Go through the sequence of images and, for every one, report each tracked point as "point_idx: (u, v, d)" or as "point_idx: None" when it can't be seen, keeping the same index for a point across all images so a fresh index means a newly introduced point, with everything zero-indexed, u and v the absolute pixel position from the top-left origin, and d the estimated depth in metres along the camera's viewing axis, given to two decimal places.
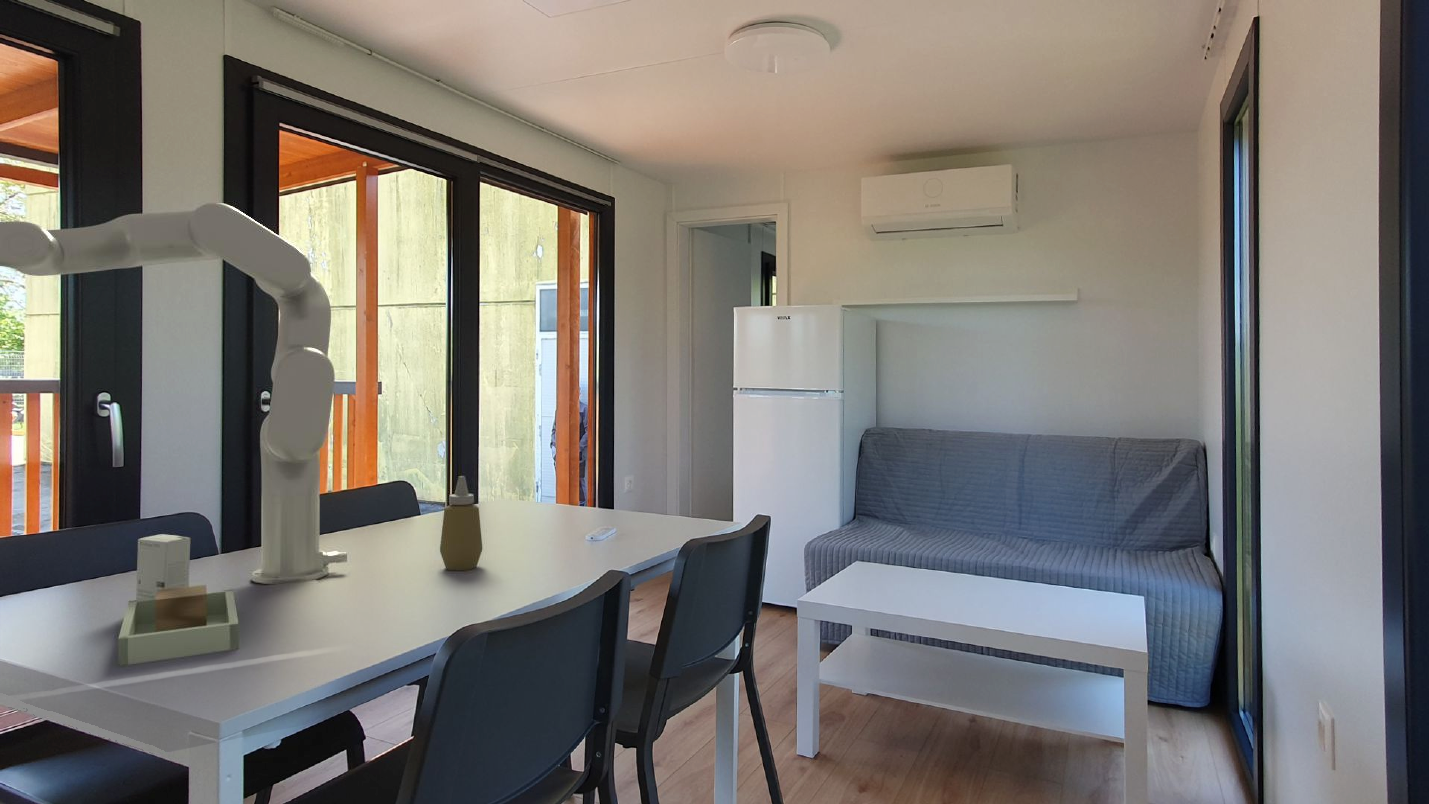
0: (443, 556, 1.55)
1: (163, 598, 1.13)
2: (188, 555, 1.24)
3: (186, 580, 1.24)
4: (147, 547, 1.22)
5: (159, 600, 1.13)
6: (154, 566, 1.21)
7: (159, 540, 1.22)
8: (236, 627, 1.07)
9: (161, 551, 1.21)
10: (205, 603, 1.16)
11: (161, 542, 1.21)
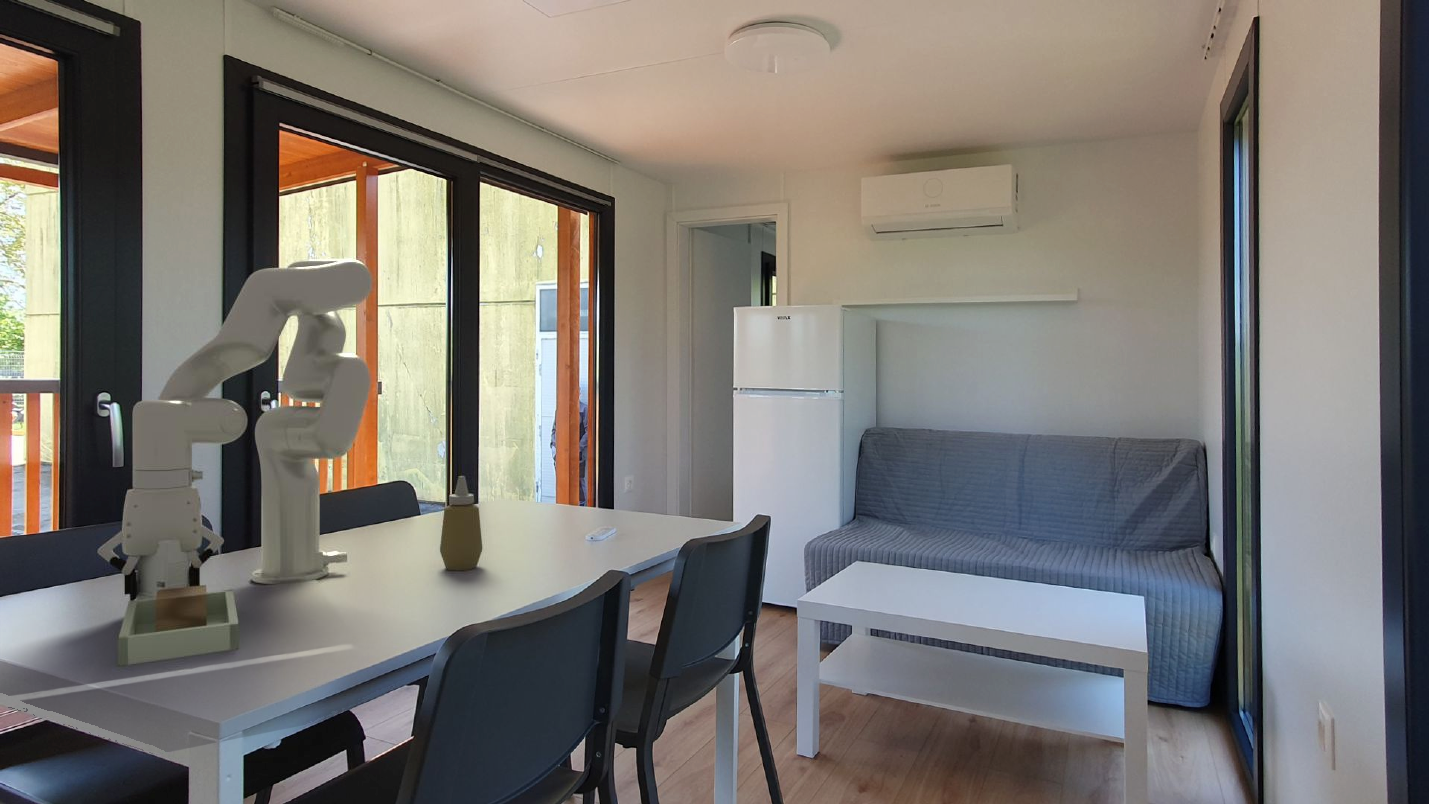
0: (443, 556, 1.55)
1: (163, 598, 1.13)
2: None
3: (186, 580, 1.24)
4: None
5: (159, 600, 1.13)
6: (154, 566, 1.21)
7: None
8: (236, 627, 1.07)
9: (161, 551, 1.21)
10: (205, 603, 1.16)
11: (161, 542, 1.21)
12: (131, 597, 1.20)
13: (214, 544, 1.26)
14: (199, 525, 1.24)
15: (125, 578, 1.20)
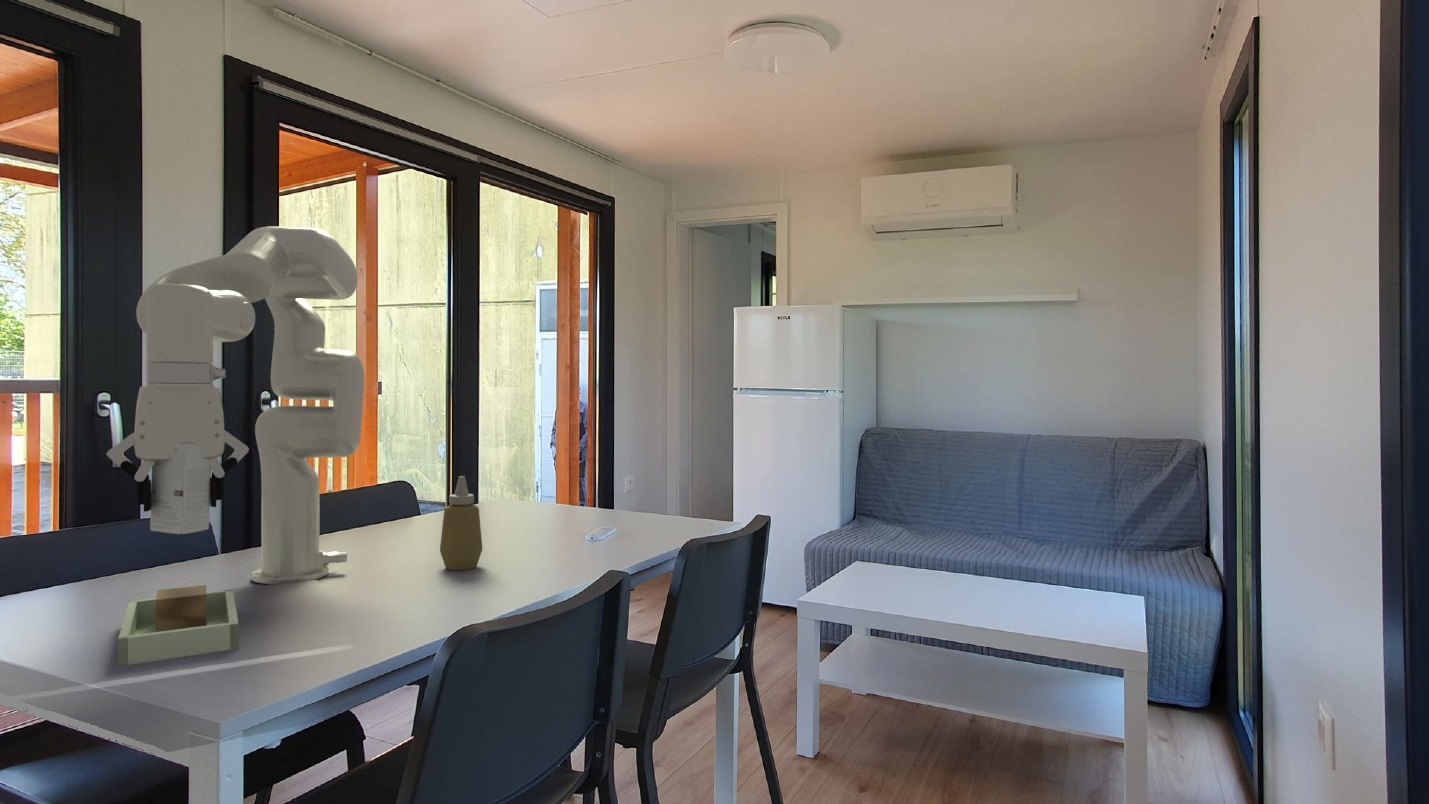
0: (443, 556, 1.55)
1: (163, 598, 1.13)
2: None
3: (207, 491, 1.09)
4: None
5: (159, 600, 1.13)
6: (171, 472, 1.06)
7: None
8: (236, 627, 1.07)
9: (179, 455, 1.06)
10: (205, 603, 1.16)
11: (179, 445, 1.06)
12: (145, 507, 1.05)
13: (238, 452, 1.12)
14: (221, 429, 1.09)
15: (138, 486, 1.05)
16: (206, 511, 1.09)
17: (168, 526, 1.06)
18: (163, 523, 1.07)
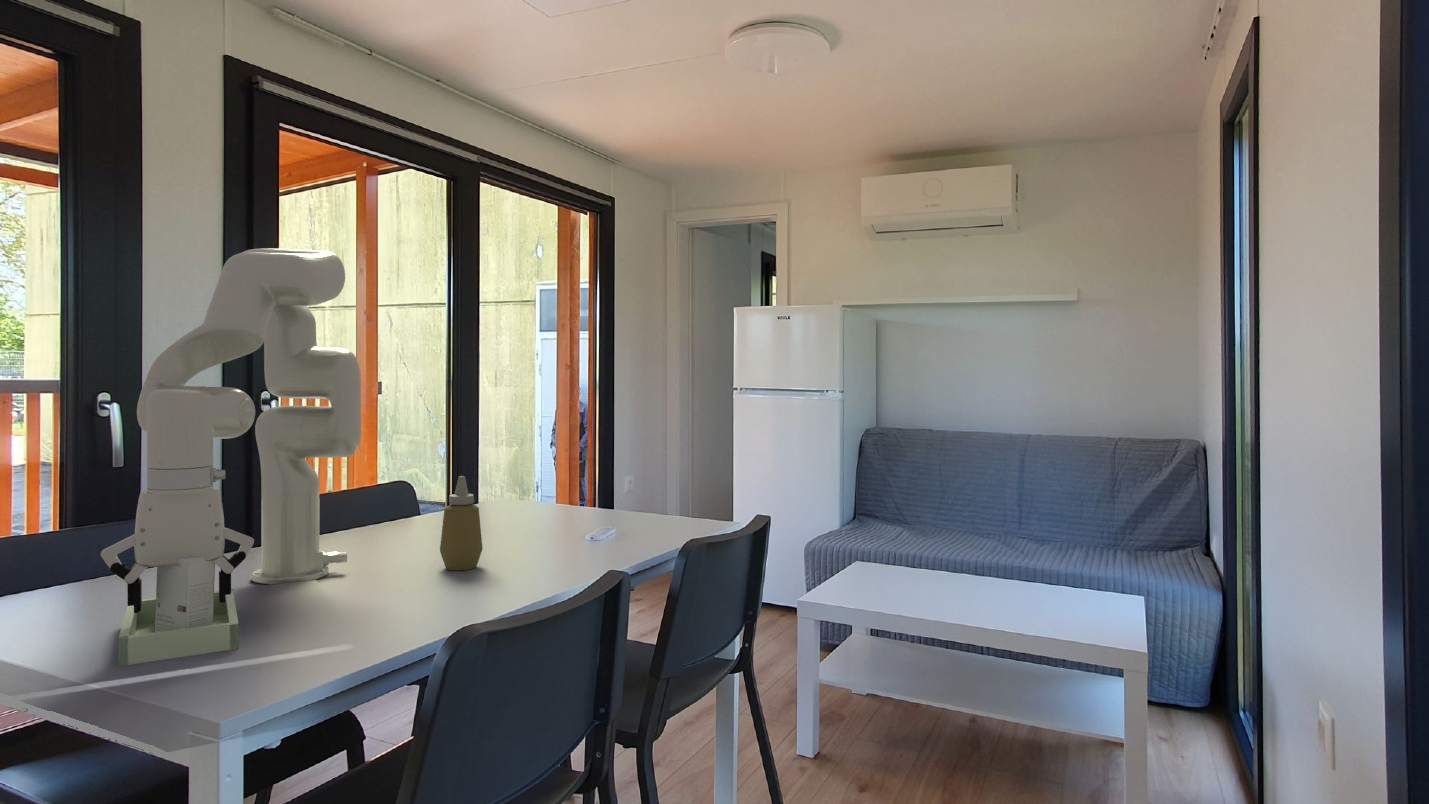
0: (443, 556, 1.55)
1: None
2: (213, 575, 1.10)
3: (211, 603, 1.10)
4: (167, 566, 1.08)
5: None
6: (175, 588, 1.07)
7: None
8: (236, 627, 1.07)
9: (182, 571, 1.07)
10: None
11: (182, 561, 1.07)
12: (135, 609, 1.05)
13: (244, 546, 1.12)
14: (221, 531, 1.10)
15: (128, 587, 1.05)
16: (209, 624, 1.10)
17: None
18: None
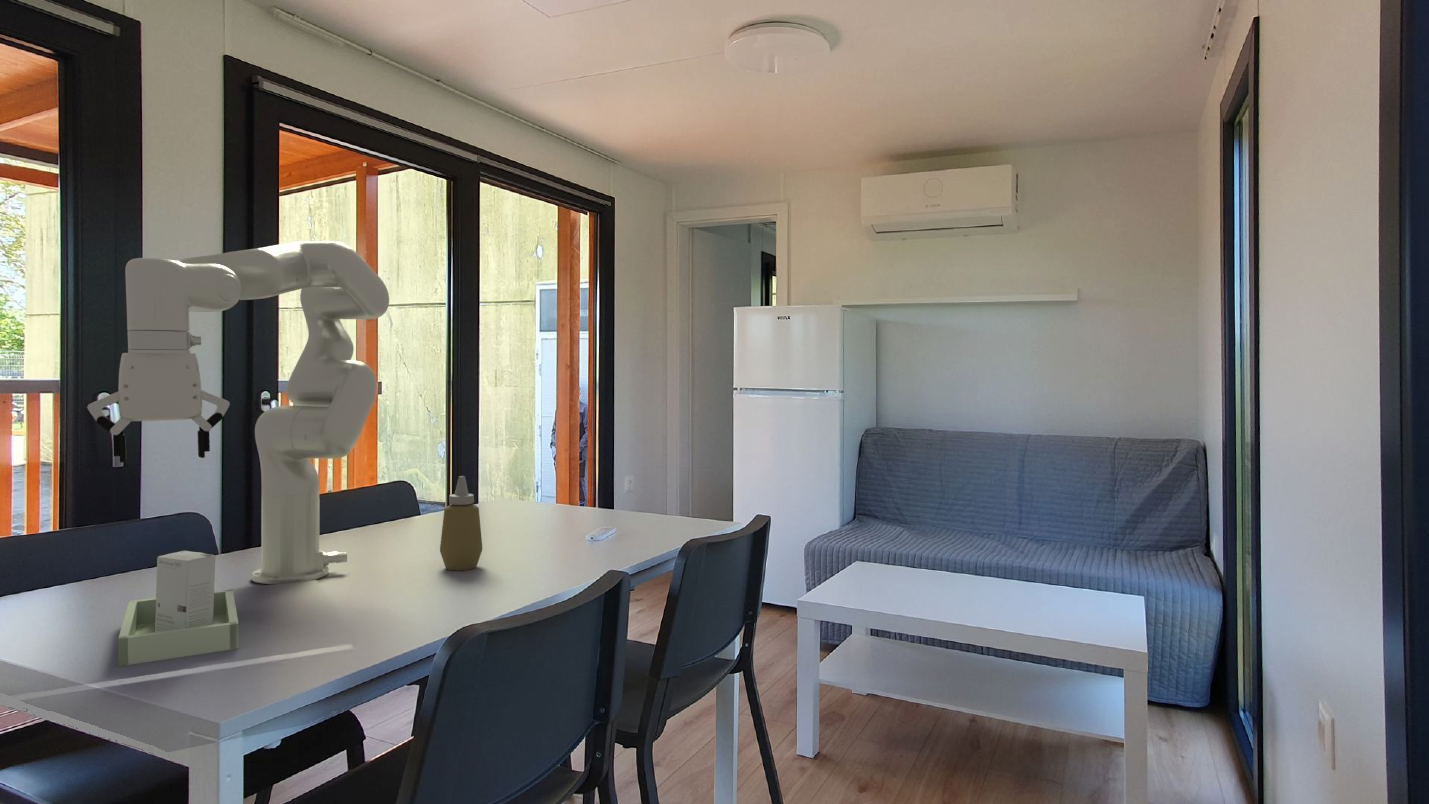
0: (443, 556, 1.55)
1: None
2: (213, 575, 1.10)
3: (211, 603, 1.10)
4: (167, 566, 1.08)
5: None
6: (175, 588, 1.07)
7: (180, 558, 1.07)
8: (236, 627, 1.07)
9: (182, 571, 1.07)
10: None
11: (182, 561, 1.07)
12: (121, 458, 1.15)
13: (221, 407, 1.22)
14: (199, 391, 1.20)
15: (114, 439, 1.15)
16: (209, 624, 1.10)
17: None
18: None
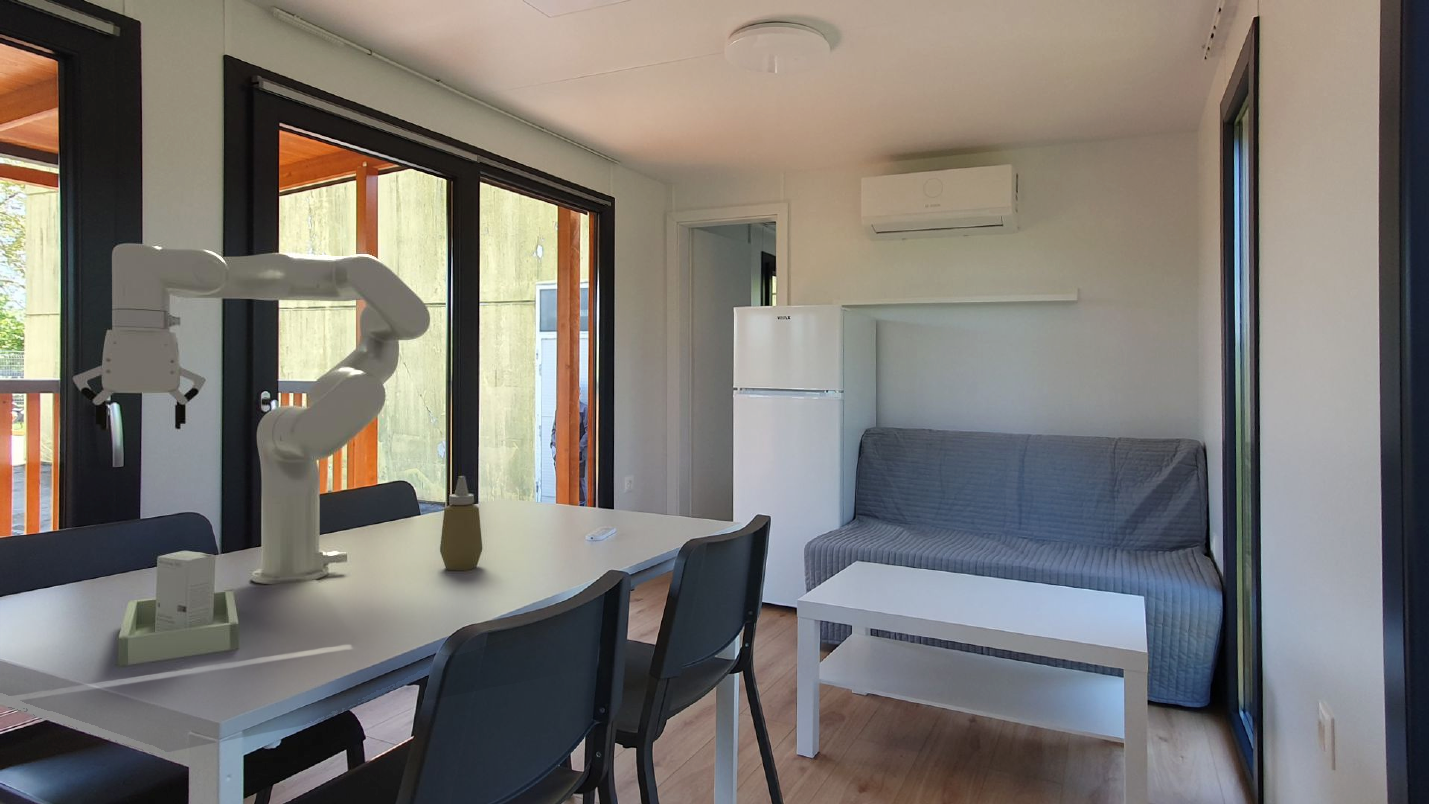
0: (443, 556, 1.55)
1: None
2: (213, 575, 1.10)
3: (211, 603, 1.10)
4: (167, 566, 1.08)
5: None
6: (175, 588, 1.07)
7: (180, 558, 1.07)
8: (236, 627, 1.07)
9: (182, 571, 1.07)
10: None
11: (183, 560, 1.07)
12: (102, 426, 1.25)
13: (197, 383, 1.32)
14: (176, 367, 1.29)
15: (96, 408, 1.25)
16: (209, 624, 1.10)
17: None
18: None
